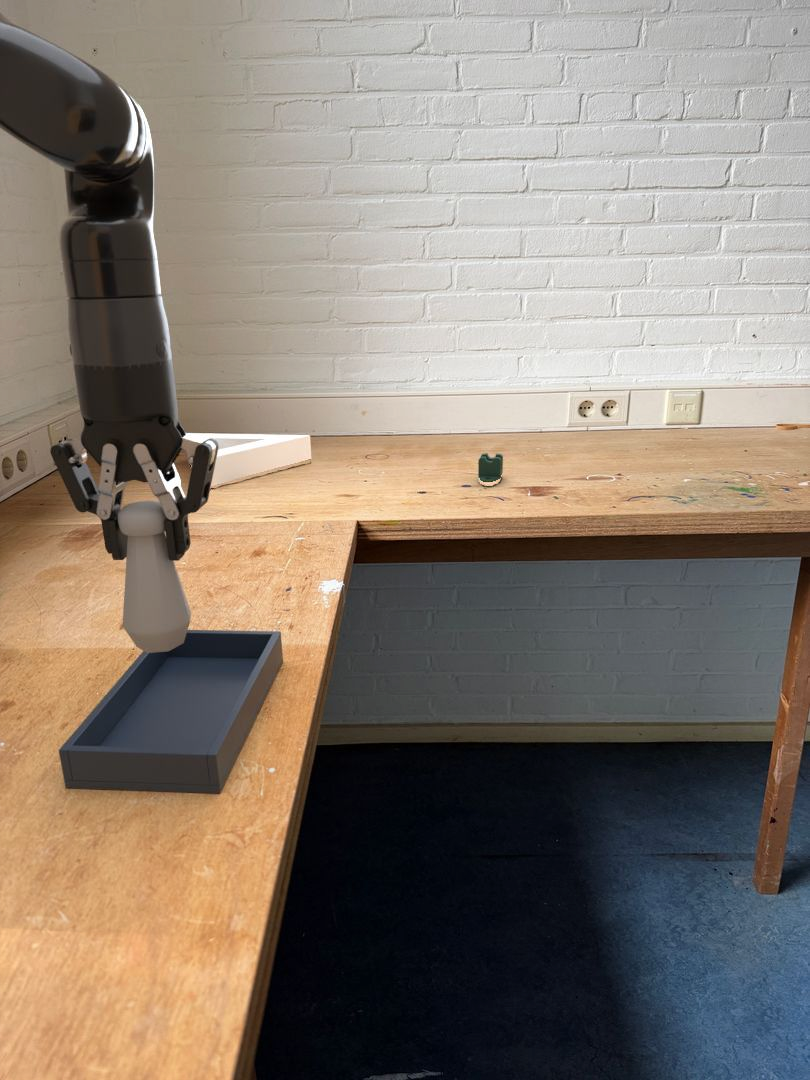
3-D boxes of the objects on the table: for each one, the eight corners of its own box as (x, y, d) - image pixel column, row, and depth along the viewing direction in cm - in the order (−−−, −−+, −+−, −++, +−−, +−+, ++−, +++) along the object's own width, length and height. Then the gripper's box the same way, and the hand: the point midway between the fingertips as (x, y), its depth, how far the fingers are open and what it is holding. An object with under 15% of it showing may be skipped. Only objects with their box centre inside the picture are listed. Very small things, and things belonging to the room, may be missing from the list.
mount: (498, 487, 157) (498, 462, 156) (475, 486, 158) (476, 461, 157) (504, 473, 167) (504, 450, 166) (483, 472, 168) (483, 449, 167)
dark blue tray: (65, 788, 68) (58, 750, 67) (165, 659, 91) (161, 629, 89) (220, 793, 67) (215, 755, 66) (283, 661, 89) (280, 631, 88)
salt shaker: (148, 664, 68) (128, 518, 64) (114, 644, 72) (93, 505, 67) (206, 640, 72) (191, 502, 68) (171, 623, 76) (155, 491, 71)
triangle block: (311, 463, 180) (310, 435, 178) (273, 494, 156) (271, 462, 154) (187, 459, 185) (184, 433, 183) (131, 489, 161) (127, 459, 159)
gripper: (224, 350, 67) (241, 544, 72) (60, 352, 68) (89, 542, 73) (194, 361, 59) (216, 574, 65) (11, 362, 61) (48, 572, 66)
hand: (149, 556), depth 69 cm, fingers closed on salt shaker, 4 cm apart
